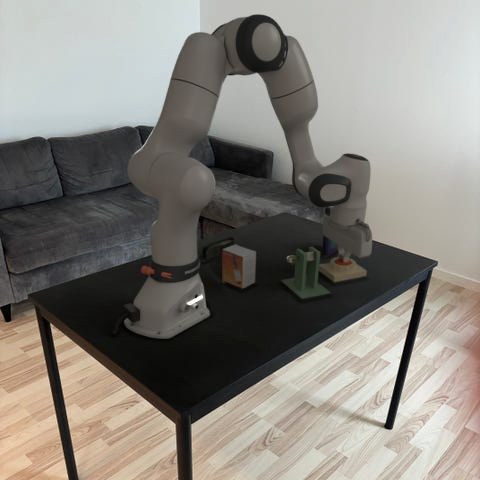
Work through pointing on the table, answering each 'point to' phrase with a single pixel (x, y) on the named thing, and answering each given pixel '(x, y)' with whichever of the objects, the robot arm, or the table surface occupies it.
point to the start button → (342, 262)
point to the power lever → (291, 259)
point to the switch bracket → (303, 283)
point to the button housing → (342, 270)
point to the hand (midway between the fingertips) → (343, 260)
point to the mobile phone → (216, 247)
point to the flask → (328, 246)
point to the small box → (238, 266)
